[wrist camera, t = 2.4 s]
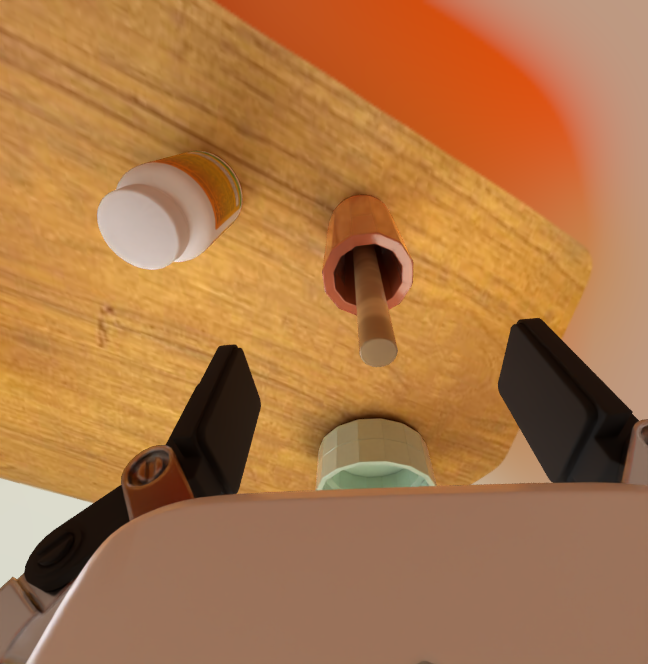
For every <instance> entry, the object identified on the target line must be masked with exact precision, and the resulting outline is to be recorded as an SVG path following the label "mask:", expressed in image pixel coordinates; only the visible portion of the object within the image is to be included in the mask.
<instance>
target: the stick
mask: <svg viewBox="0 0 648 664" xmlns="http://www.w3.org/2000/svg"><path fill="white" fill-rule="evenodd" d="M353 262H354V277H355V292H356V307H357V322H358V337H359V352H360V357H361V359H362V360H363V361H364V362H365V363H366V364H368V365H370V366H373V367H382V366H386V365H388V364H390V363H391V362H392V361H393V360H394V359H395V358H396V356H397V352H398V350H397V345H396V340H395V336H394V332H393V327H392V323H391V318H390V314H389V310H388V305H387V301H386V296H385V292H384V288H383V283H382V279H381V274H380V270H379V266H378V261H377V257H376V252H375V248H374V244H370V245H361V246H356V247H354V248H353Z"/></svg>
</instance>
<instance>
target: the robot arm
mask: <svg viewBox="0 0 648 664" xmlns="http://www.w3.org/2000/svg"><path fill="white" fill-rule="evenodd" d="M498 389H499V393H500V395H501V396H502V398H503V400H504V402H505V403H506V405H507V407H508V409H509V410H510V412H511V414H512V416H513V417H514V419H515V421H516V423H517V424H518V426H519V428H520V429H521V431H522V433H523V435H524V436H525V438H526V440H527V442H528V443H529V445H530V447H531V449H532V450H533V452H534V454H535V456H536V457H537V459H538V461H539V463H540V464H541V466H542V468H543V470H544V471H545V473H546V475H547V476H548V478H549V479H550V481H551V482H553V483H520V484H489V485H488V484H487V485H453V486H422V487H393V488H365V489H338V490H313V491H288V492H266V493H248V494H236V493H237V492H238V490H239V487H240V483H241V479H242V476H243V472H244V468H245V464H246V461H247V457H248V453H249V449H250V446H251V442H252V438H253V434H254V431H255V427H256V423H257V419H258V416H259V412H260V408H261V402H260V398H259V395H258V392H257V389H256V386H255V383H254V380H253V378H252V375H251V372H250V369H249V366H248V363H247V361H246V358H245V355H244V352H243V350H242V348H238V347H237V346H236V345H224V346H219V347H218V349H217V351H216V353H215V355H214V357H213V358H212V360H211V362H210V364H209V366H208V368H207V370H206V372H205V374H204V376H203V378H202V380H201V382H200V384H198V385H197V387H196V388H195V390H194V392H193V394H192V396H191V398H190V400H189V401H188V403H187V405H186V407H185V409H184V411H183V413H182V415H181V417H180V419H179V421H178V422H177V424H176V426H175V428H174V430H173V432H172V434H171V436H170V438H169V440H168V442H167V443H166V445H157V446H153V447H150V448H148V449H146V450H143V451H142V452H140V453H139V454H138V455H136V456H135V457H134V458H133V459H132V460H131V461H130V462H129V463H128V465H127V466H126V467H125V469H124V471H123V474H122V476H121V484H122V485H120V486H119V487H117V488H116V489H114V490H113V491H111V492H110V493H108V494H107V495H105V496H104V497H102V498H101V499H99V500H98V501H96V502H95V503H93V504H92V505H90V506H89V507H88V508H86V509H84V510H83V511H81V512H80V513H79V514H77V515H76V516H74V517H73V518H71V519H70V520H68V521H67V522H65V523H64V524H62V525H61V526H59V527H58V528H56V529H55V530H54V531H52V532H51V533H50V534H49V535H47V536H46V537H45V538H44V539H43V540H42V541H41V542H40V543H39V544H38V545H37V546H36V548H35V549H34V551H33V552H32V554H31V555H30V557H29V559H28V561H27V563H26V566H25V572H24V574H23V575H21V576H20V577H19V578H18V579H16V578H14V577H12V578H11V579H10V580H9V581H8V582H7V583H6V584H4V585H3V586H2V587H1V588H0V664H648V419H646V420H641V421H639V420H638V419H637V418H636V417H635V416H634V415H633V414H632V411H631V410H630V409H629V408H628V407H627V406H626V405H625V404H624V403H623V402H622V401H621V400H620V399H619V398H618V397H617V396H616V395H615V394H614V393H613V392H612V391H611V390H610V389H609V388H608V387H607V386H606V385H605V383H604V382H603V381H602V380H601V379H600V378H599V377H597V376H596V374H595V373H594V372H593V371H592V370H591V369H590V368H589V367H588V366H587V365H586V364H585V363H584V362H583V361H582V360H581V359H580V358H579V357H578V356H577V355H576V354H575V353H574V352H573V351H572V350H571V349H570V348H569V347H568V346H567V345H566V344H565V343H564V342H563V341H562V340H561V339H560V338H559V337H558V336H557V335H556V334H555V333H554V332H553V331H552V330H551V329H550V328H549V327H548V326H547V325H546V324H545V322H544V321H543V320H541V319H540V318H533V319H521V320H519V321H518V322H517V324H514V325H513V326H512V327H511V331H510V335H509V339H508V343H507V348H506V352H505V356H504V360H503V365H502V369H501V373H500V377H499V381H498Z"/></svg>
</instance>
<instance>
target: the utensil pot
mask: <svg viewBox="0 0 648 664" xmlns="http://www.w3.org/2000/svg"><path fill="white" fill-rule="evenodd" d="M370 244H374V248H375V252H376V257H377V261H378V266H379V270H380V274H381V279H382V283H383V288H384V292H385V296H386V301H387V305H388V310H389V309H391V308H393V307H394V306H396V305H398V304H400V303H401V301H402V300H403V298H404V297H405V295H406V294H407V292H408V291H409V289H410V287H411V286H412V283H413V260H412V258H411V256H410V254H409V251H408V249H407V247H406V245H405V243H404V241H403V239H402V236H401V234H400V232H399V230H398V228H397V226H396V223H395V221H394V219H393V217H392V215H391V214H390V212H389V210H388V209H387V207H386V206H385V204H384V203H383V202H381V201H380V200H379V199H377V198H375V197H372V196H369V195H355V196H352V197H349V198H347V199H345V200H344V201H342V202H341V203H340V204H339V205H338V206H337V207H336V209H335V210H334V212H333V214H332V216H331V219H330V222H329V225H328V232H327V239H326V247H325V254H324V262H323V269H322V274H323V281H324V288H325V292H326V294H327V295H328V296H329V297H330V299H331V300H332V301H333V302H334V303H335V304H336V306H337V307H338V308H339V309H341V310H344V311H347V312H349V313H352V314H354V315H357V307H356V292H355V277H354V262H353V248H354V247H356V246H361V245H370Z"/></svg>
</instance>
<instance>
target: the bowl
mask: <svg viewBox="0 0 648 664" xmlns="http://www.w3.org/2000/svg"><path fill="white" fill-rule="evenodd" d="M422 486H437V484H436V480H435V476H434V472H433V468H432V464H431V460H430V456H429V452H428V448H427V445H426V443H425V442H424V440H423V439H422V437H421V435H420V434H419V433H418V432H416V431H415V430H413V429H411V428H410V427H408V426H406V425H405V424H403V423H399V422H395V421H390V420H386V419H381V418H379V419H358V420H355V421H352V422H349V423H346V424H343V425H340V426H338V427H336V428H335V429H334V430H332V431H331V432H330V433H329V434H327V435H326V436H325V437H324V438H323V441H322V443H321V445H320V448H319V452H318V465H317V479H316V490H338V489H365V488H393V487H422Z"/></svg>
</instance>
